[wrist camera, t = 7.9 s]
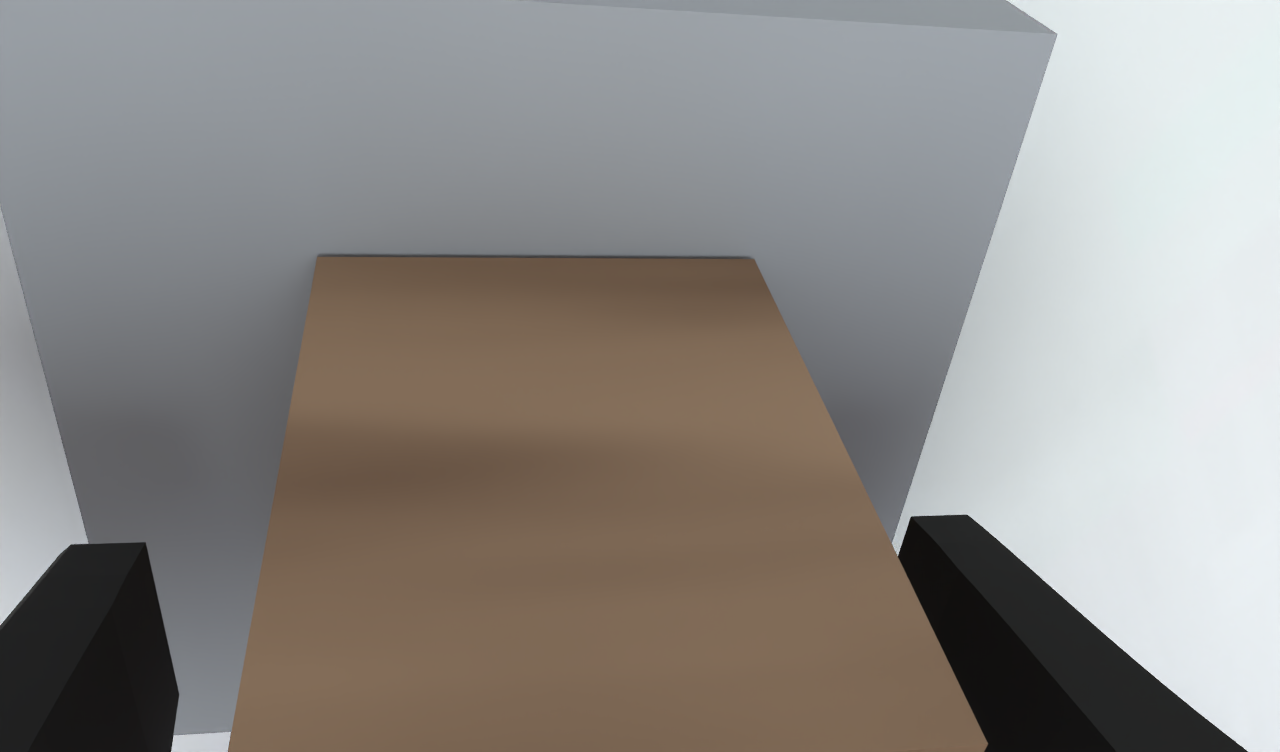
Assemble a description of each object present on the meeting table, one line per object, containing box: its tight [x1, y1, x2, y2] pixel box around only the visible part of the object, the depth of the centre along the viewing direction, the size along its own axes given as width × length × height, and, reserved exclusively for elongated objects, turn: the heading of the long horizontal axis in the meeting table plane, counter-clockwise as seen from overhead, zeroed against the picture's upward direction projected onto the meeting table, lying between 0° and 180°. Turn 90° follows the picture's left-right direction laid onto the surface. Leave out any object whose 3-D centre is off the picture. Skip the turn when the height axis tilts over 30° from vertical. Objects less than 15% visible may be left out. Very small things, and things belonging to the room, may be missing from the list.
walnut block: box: [228, 257, 988, 752], centre depth 10 cm, size 4×4×6 cm
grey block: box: [0, 0, 1057, 735], centre depth 14 cm, size 10×10×3 cm
